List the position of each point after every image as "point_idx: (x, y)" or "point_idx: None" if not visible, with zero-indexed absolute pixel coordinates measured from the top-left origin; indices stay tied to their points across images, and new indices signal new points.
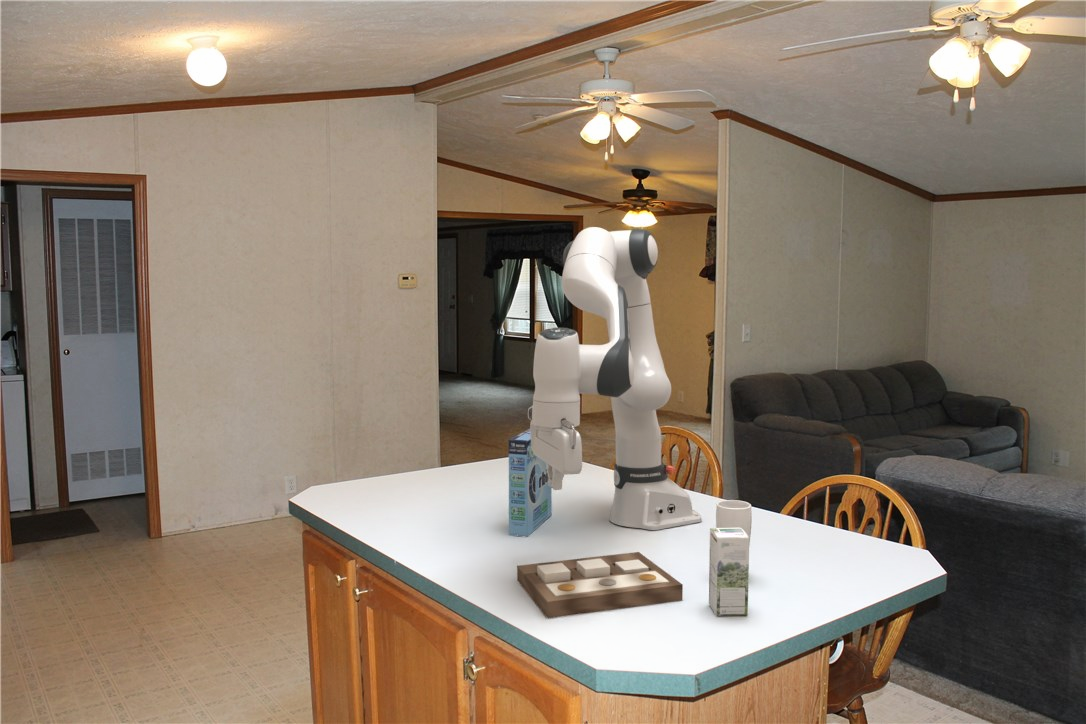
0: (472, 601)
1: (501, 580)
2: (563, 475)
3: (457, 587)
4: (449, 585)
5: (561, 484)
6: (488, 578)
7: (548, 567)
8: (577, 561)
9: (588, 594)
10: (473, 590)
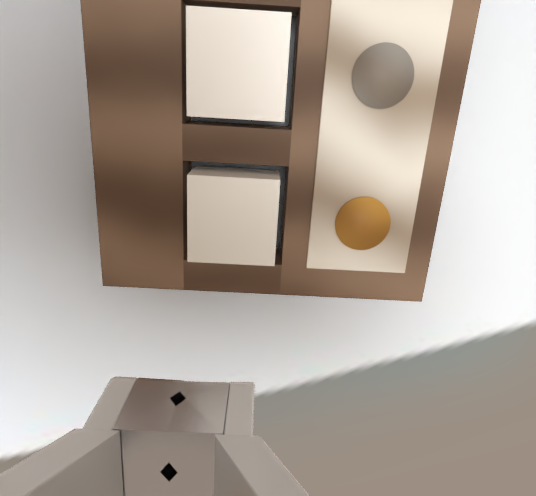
0: None
1: (104, 304)
2: (297, 489)
3: None
4: None
5: (251, 410)
6: (79, 329)
7: (218, 234)
8: (191, 114)
9: (431, 176)
10: None
